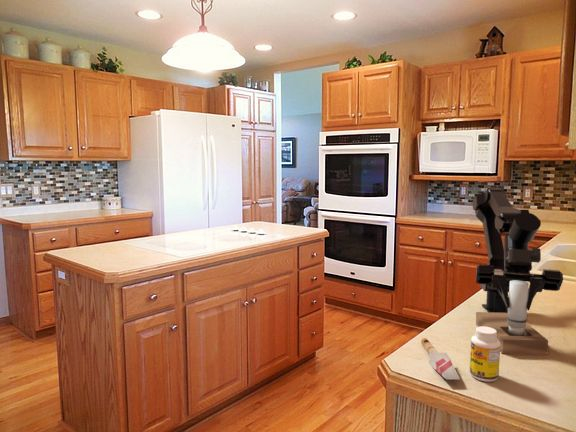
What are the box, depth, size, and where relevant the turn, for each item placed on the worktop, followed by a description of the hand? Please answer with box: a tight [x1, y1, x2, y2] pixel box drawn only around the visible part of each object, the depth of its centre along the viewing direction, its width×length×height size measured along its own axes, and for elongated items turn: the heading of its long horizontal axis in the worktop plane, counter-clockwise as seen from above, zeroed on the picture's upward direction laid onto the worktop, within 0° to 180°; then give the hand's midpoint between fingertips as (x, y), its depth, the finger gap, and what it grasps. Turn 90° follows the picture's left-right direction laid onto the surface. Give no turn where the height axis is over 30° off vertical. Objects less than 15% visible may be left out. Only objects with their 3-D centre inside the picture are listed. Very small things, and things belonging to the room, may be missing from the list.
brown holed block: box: [475, 311, 549, 356], centre depth 109 cm, size 18×10×4 cm, turn 175°
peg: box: [507, 280, 530, 335], centre depth 104 cm, size 4×4×12 cm
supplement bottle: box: [469, 326, 501, 383], centre depth 90 cm, size 6×6×10 cm
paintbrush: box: [420, 337, 461, 380], centre depth 97 cm, size 4×3×20 cm
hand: (518, 308), depth 103 cm, fingers closed on peg, 4 cm apart
